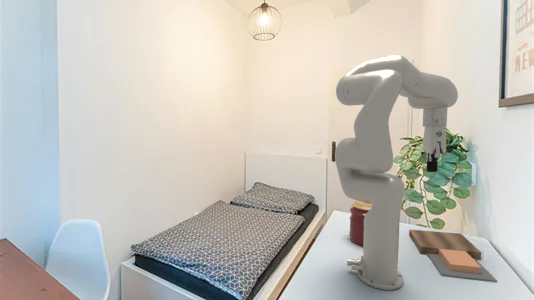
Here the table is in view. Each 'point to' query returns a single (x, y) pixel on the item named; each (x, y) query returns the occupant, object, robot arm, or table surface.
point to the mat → (458, 274)
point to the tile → (459, 261)
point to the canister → (358, 221)
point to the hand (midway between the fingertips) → (431, 171)
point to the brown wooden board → (442, 242)
